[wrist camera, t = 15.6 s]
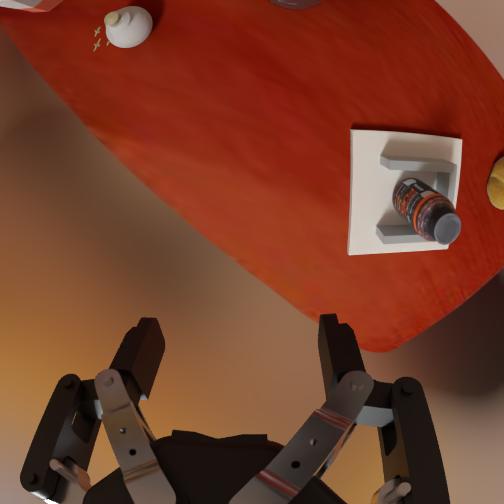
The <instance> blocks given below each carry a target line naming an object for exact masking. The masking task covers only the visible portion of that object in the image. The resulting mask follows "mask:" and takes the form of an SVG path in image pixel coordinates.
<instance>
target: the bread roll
mask: <svg viewBox="0 0 504 504" xmlns="http://www.w3.org/2000/svg"><path fill="white" fill-rule="evenodd" d="M487 192H488V195H489V198H490V200H491V202H492V204H493V205H494V206H495V207H497V208H499V209H504V157H502V158H500V159H499V160H498V161H497V162H496V163H495V164H494V166H493V169H492V172H491V176H490V177H489V180H488V183H487Z"/></svg>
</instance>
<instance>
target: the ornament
mask: <svg viewBox="0 0 504 504" xmlns="http://www.w3.org/2000/svg"><path fill="white" fill-rule="evenodd" d="M104 22H105V24H106V34H107V37H108V39H109V42H108V43H110V42H111V43H112V44H114V45H115V46H118V47H122V48H129V47H134V46H136V45H138V44H140V43H142V42H143V41H144V40H145V39H146V38H147V37H148V36H149V34H150V32H151V30H152V25H153V23H152V17H151V15H150V14H149V12H148V11H146V10H145V9H143V8H141V7H137V6H129V7H125V8H122V9H120V10H118V11H115V12H111V13H109V14H108V15H107V16H106V17H105V20H104ZM99 29H100V27H99ZM99 29H98V30H95V32H96V34H97V33H100V32H99ZM96 34H95V36H96ZM100 39H101V38H100ZM99 42H100V40H99V41H98V43H97V44H94V45H95V49H96V48H97V46H100V45H99ZM107 45H108V44H107ZM95 49H94V51H95Z"/></svg>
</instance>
